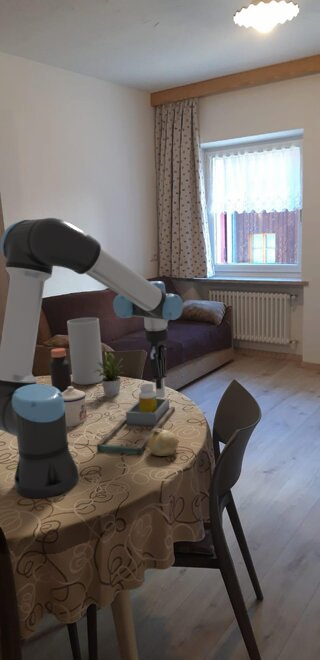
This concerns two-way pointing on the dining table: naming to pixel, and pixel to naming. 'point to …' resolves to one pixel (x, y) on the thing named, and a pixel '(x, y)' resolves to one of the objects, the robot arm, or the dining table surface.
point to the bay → (130, 450)
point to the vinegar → (60, 370)
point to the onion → (162, 442)
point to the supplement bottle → (147, 399)
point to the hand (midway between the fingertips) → (160, 396)
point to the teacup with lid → (74, 406)
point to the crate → (147, 414)
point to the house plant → (110, 376)
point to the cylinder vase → (85, 350)
